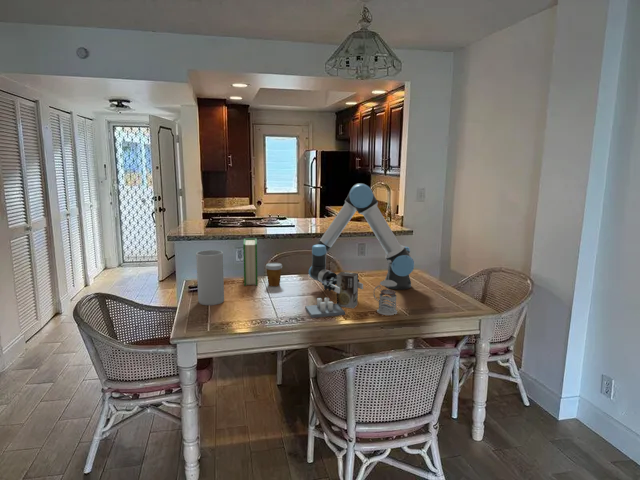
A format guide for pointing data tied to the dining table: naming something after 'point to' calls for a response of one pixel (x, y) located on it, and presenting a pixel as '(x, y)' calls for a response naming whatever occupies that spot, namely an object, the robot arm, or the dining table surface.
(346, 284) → the coffee box
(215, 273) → the cylinder vase
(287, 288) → the dining table surface
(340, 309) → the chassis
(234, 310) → the dining table surface
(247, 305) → the dining table surface
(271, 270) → the disposable coffee cup
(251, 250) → the hardback book
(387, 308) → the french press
